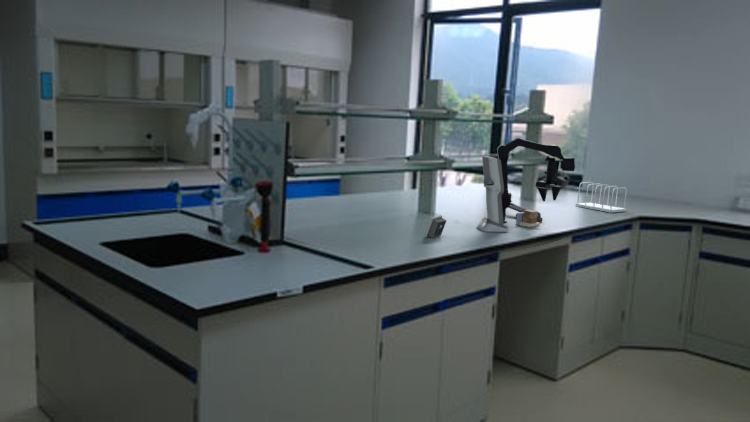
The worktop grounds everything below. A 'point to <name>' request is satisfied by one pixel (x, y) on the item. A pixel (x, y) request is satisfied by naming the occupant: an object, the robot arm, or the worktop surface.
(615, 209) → the file sorter
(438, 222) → the electrical switch
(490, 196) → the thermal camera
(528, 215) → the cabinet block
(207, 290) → the worktop surface
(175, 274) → the worktop surface
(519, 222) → the blue and beige sponge
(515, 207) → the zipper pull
